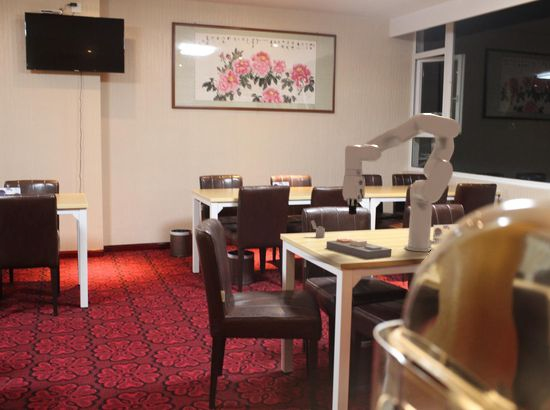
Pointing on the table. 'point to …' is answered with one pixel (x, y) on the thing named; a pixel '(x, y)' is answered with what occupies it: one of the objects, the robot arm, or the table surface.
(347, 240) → the terracotta button
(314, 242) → the table surface
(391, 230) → the table surface
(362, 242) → the cream button
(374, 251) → the button panel
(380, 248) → the slate button
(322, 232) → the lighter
